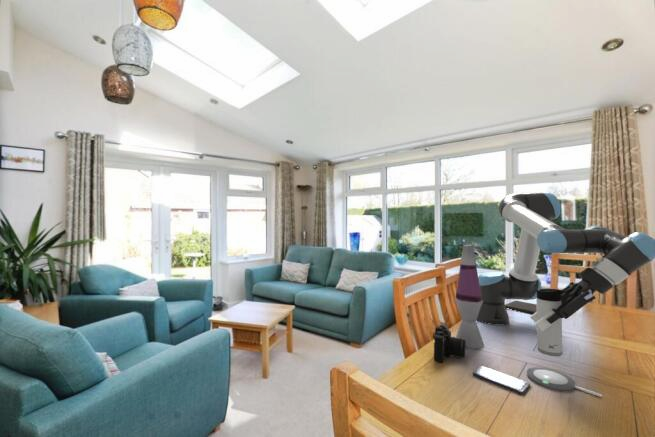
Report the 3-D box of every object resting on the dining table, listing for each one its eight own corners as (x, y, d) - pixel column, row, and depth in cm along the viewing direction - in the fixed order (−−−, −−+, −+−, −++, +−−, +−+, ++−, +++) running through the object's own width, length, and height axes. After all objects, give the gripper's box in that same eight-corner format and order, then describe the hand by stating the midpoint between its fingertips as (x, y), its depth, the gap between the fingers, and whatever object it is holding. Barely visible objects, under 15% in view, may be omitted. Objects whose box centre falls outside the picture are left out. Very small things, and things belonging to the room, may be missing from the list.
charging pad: (521, 379, 93) (521, 375, 93) (533, 366, 100) (533, 363, 100) (598, 406, 79) (598, 402, 79) (605, 389, 87) (604, 385, 87)
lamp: (457, 335, 127) (456, 243, 128) (485, 341, 121) (484, 244, 121) (452, 344, 119) (451, 245, 119) (482, 351, 112) (480, 246, 113)
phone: (472, 375, 95) (472, 372, 95) (481, 368, 99) (481, 365, 99) (522, 395, 84) (522, 391, 84) (530, 386, 89) (530, 382, 89)
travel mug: (557, 359, 87) (555, 291, 88) (533, 350, 93) (531, 287, 93) (567, 354, 90) (566, 289, 90) (543, 346, 96) (542, 285, 96)
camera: (463, 368, 100) (463, 339, 100) (430, 361, 105) (430, 333, 105) (467, 352, 112) (466, 326, 112) (437, 346, 117) (437, 321, 117)
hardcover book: (515, 304, 175) (515, 300, 175) (563, 313, 156) (563, 309, 156) (503, 309, 165) (503, 305, 165) (553, 320, 147) (553, 315, 147)
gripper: (578, 262, 97) (520, 306, 103) (603, 271, 79) (532, 324, 86) (599, 279, 94) (538, 323, 101) (630, 293, 77) (554, 345, 84)
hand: (535, 323), depth 93 cm, fingers closed on travel mug, 6 cm apart
